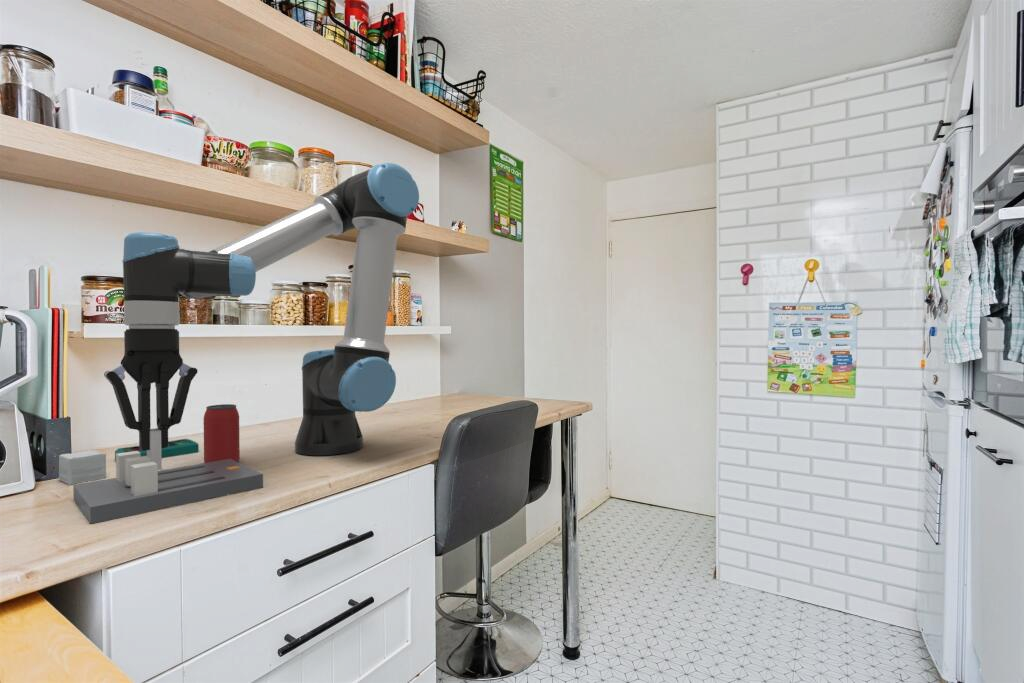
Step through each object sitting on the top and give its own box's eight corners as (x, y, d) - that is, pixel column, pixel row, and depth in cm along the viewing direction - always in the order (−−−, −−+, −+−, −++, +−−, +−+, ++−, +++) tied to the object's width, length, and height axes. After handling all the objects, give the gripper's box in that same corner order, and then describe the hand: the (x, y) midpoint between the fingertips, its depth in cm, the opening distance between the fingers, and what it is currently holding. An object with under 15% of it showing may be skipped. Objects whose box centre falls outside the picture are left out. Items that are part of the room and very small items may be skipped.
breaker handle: (147, 479, 87) (147, 455, 87) (151, 482, 86) (150, 458, 86) (125, 483, 85) (125, 458, 85) (128, 486, 84) (128, 461, 84)
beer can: (242, 463, 109) (242, 406, 109) (206, 468, 105) (206, 409, 105) (236, 457, 114) (235, 403, 114) (201, 462, 110) (200, 405, 110)
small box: (107, 478, 98) (106, 452, 98) (68, 486, 94) (68, 458, 93) (95, 474, 101) (95, 448, 101) (58, 481, 97) (57, 454, 97)
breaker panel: (230, 470, 103) (230, 436, 103) (263, 487, 92) (262, 449, 92) (73, 499, 86) (72, 458, 86) (90, 523, 75) (89, 476, 75)
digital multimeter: (111, 461, 113) (111, 447, 113) (188, 449, 124) (188, 437, 124) (121, 467, 108) (121, 453, 108) (200, 454, 119) (200, 441, 119)
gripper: (189, 327, 94) (191, 458, 94) (98, 327, 84) (101, 472, 85) (203, 327, 89) (204, 465, 89) (107, 327, 79) (110, 481, 80)
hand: (154, 468), depth 87 cm, fingers closed
